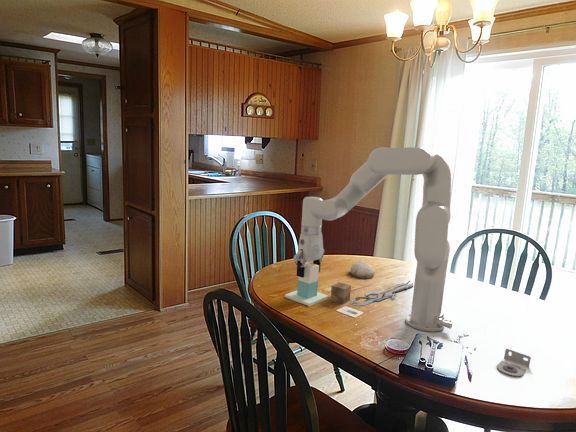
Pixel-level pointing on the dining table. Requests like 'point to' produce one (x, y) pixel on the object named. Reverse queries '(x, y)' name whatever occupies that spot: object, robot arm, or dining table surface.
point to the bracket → (516, 358)
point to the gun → (381, 294)
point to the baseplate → (306, 301)
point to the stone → (362, 270)
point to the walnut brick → (340, 293)
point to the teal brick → (307, 289)
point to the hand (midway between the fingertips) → (308, 273)
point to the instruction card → (350, 311)
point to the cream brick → (310, 273)
